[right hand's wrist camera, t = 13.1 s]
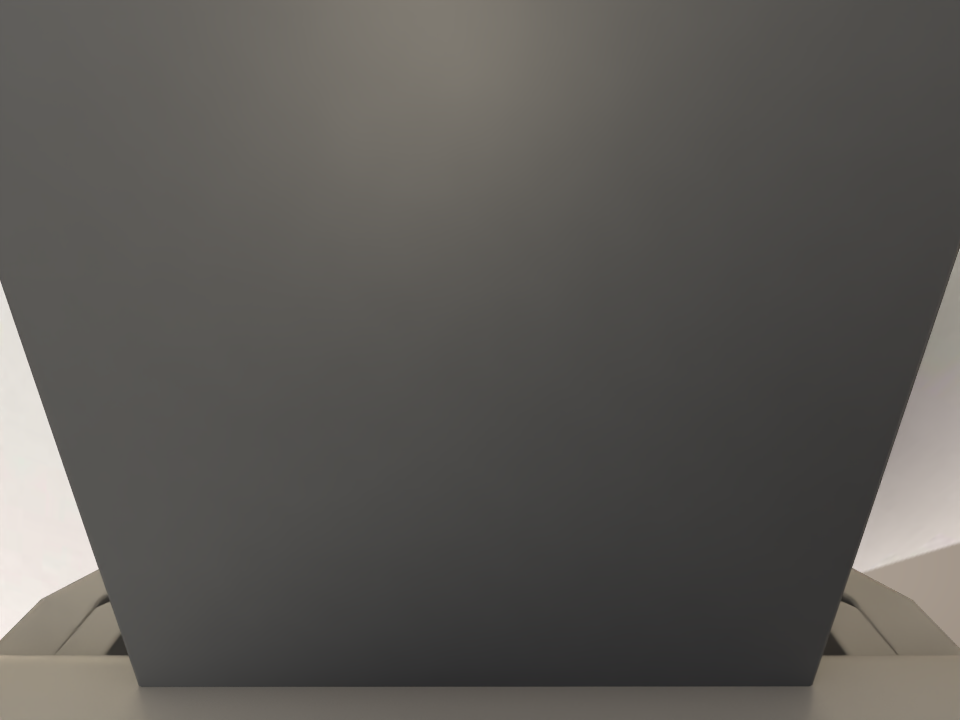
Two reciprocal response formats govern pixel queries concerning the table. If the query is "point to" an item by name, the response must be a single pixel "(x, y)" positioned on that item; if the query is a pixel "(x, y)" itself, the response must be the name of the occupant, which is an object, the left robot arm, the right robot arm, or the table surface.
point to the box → (477, 322)
